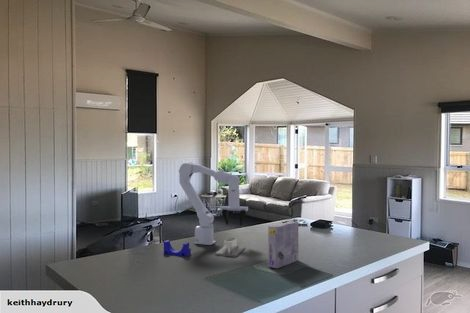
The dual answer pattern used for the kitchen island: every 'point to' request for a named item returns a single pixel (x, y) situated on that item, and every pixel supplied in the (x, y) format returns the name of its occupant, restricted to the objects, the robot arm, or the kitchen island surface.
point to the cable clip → (169, 250)
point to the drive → (230, 244)
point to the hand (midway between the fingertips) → (234, 224)
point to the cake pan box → (282, 244)
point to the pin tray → (235, 253)
